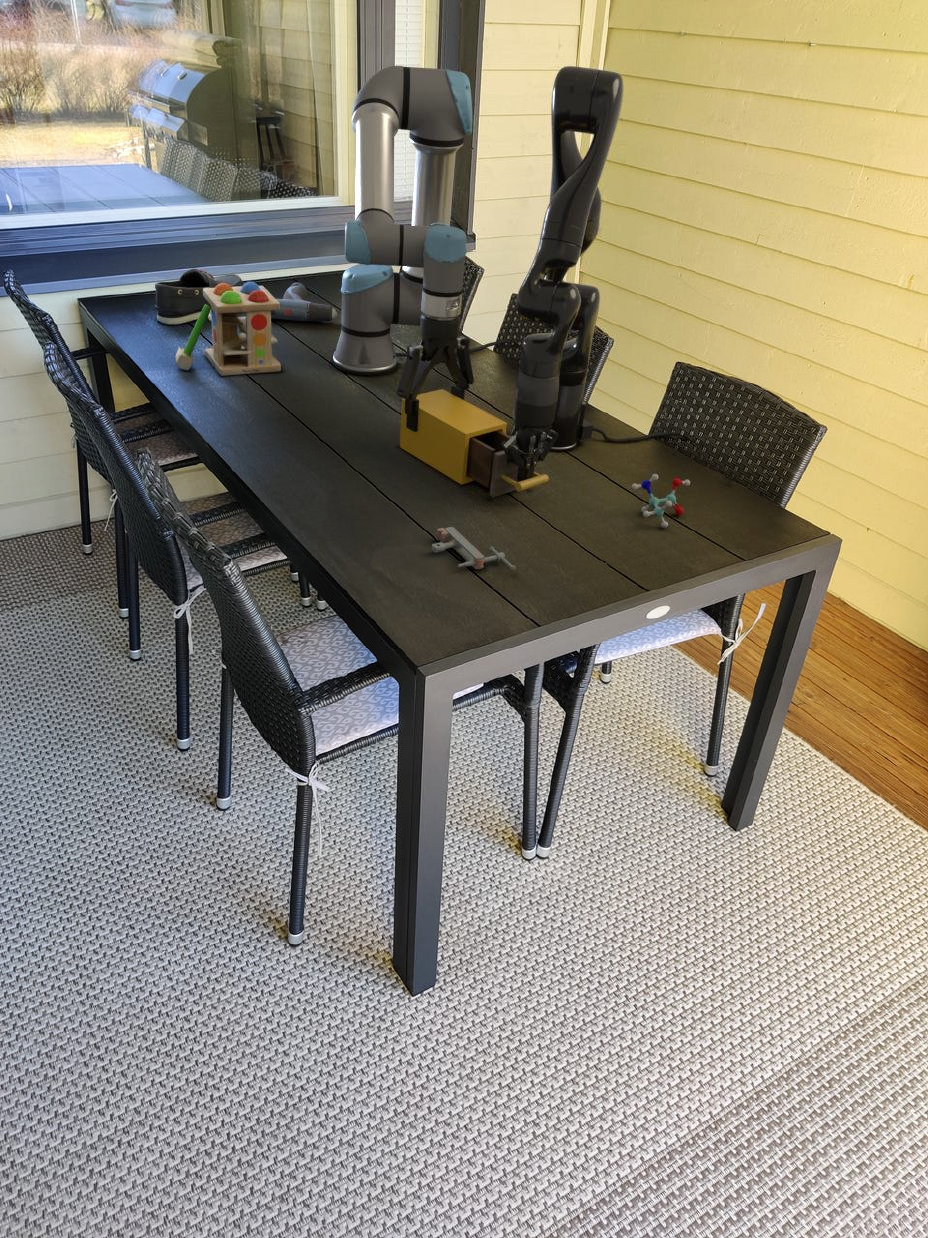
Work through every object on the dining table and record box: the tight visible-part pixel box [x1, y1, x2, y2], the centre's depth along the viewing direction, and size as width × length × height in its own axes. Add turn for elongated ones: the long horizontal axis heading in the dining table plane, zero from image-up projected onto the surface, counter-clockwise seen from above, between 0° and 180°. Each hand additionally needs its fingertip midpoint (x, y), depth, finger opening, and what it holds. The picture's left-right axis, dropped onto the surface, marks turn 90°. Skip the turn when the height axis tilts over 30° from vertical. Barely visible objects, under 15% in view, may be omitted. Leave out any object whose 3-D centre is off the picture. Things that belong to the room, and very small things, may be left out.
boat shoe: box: [154, 268, 245, 325], centre depth 260 cm, size 13×33×10 cm, turn 147°
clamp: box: [431, 526, 517, 572], centre depth 165 cm, size 15×2×10 cm
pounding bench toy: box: [174, 281, 282, 377], centre depth 225 cm, size 23×14×18 cm, turn 116°
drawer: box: [466, 430, 550, 498], centre depth 188 cm, size 24×9×8 cm, turn 40°
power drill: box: [271, 282, 338, 322], centre depth 265 cm, size 5×19×20 cm
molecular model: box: [631, 473, 691, 529], centre depth 183 cm, size 12×10×10 cm
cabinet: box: [399, 388, 508, 486], centre depth 195 cm, size 20×10×10 cm, turn 40°
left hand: (433, 423), depth 198 cm, fingers closed on cabinet, 10 cm apart
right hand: (524, 483), depth 183 cm, fingers closed
